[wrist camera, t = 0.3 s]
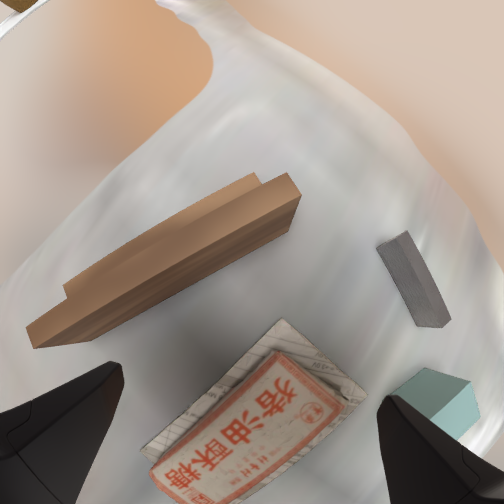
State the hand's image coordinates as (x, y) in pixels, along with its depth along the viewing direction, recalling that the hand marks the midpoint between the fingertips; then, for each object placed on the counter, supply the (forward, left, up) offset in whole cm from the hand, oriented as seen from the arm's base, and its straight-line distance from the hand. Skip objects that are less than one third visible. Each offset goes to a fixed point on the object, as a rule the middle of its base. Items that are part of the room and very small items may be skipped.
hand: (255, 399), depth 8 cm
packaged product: (-6, +4, -15) cm, 17 cm away
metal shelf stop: (-2, -13, -14) cm, 19 cm away
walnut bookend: (+10, +3, -14) cm, 17 cm away
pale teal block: (-12, -9, -14) cm, 21 cm away
